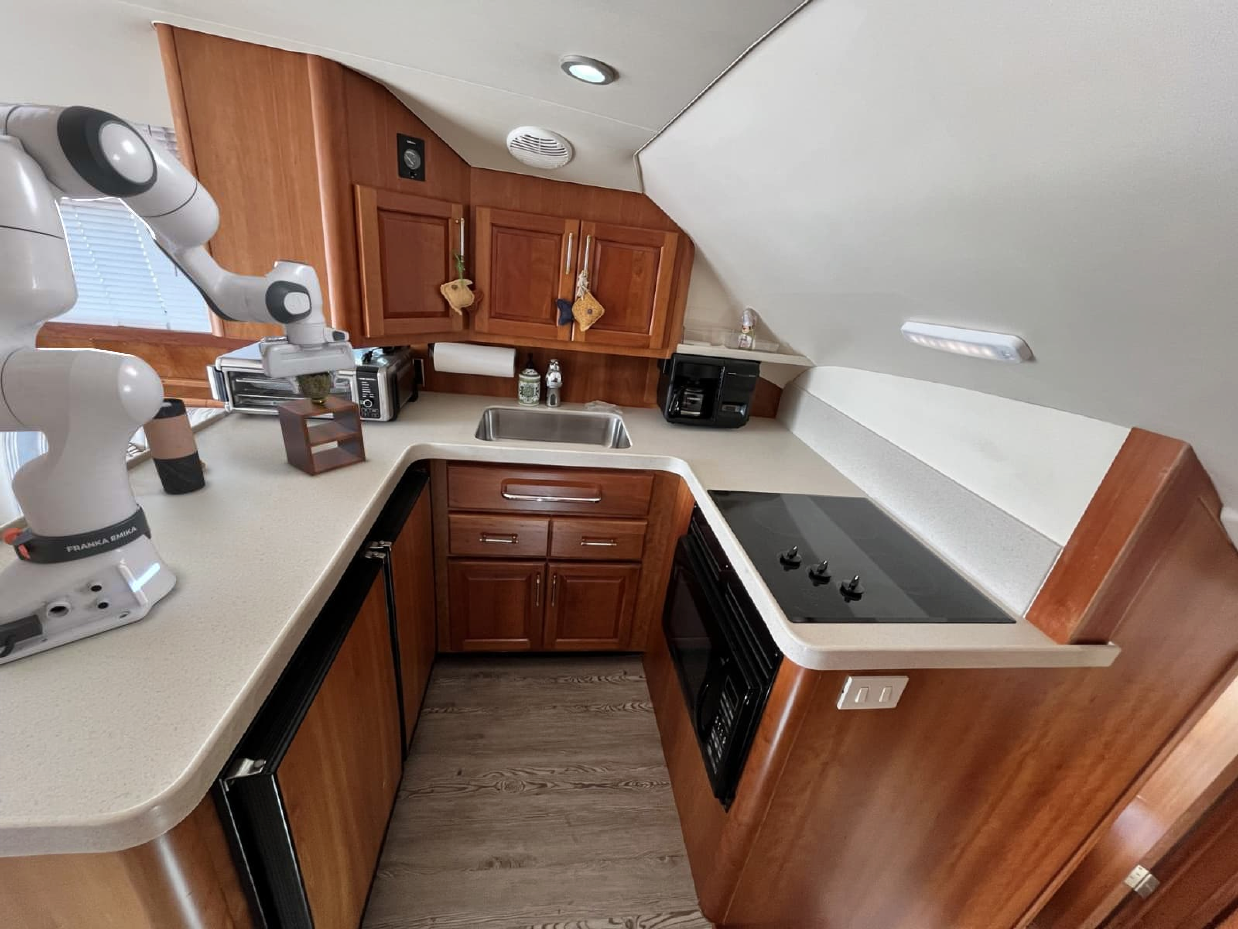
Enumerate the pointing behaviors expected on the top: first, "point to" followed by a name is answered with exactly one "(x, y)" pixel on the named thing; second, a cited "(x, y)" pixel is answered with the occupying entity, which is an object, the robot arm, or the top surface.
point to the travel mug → (174, 449)
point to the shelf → (322, 434)
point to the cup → (315, 386)
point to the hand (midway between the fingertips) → (315, 390)
